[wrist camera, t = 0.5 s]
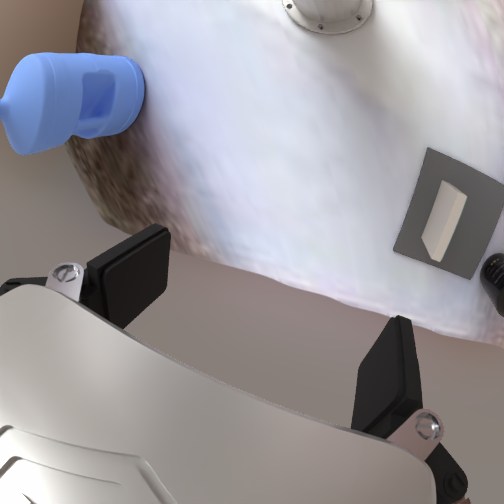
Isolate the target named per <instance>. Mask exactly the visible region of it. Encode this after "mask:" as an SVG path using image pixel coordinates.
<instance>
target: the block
mask: <svg viewBox="0 0 504 504" xmlns="http://www.w3.org/2000/svg"><path fill="white" fill-rule="evenodd" d="M466 200H467V196H466V195H465V194H464V193H462V192H461V191H460V190H458V189H457V188H456V187H454V186H453V185H451V184H450V183H448V182H445V181H443V180H442V182H441V185H440V188H439V191H438V194H437V197H436V200H435V203H434V205H433V208H432V211H431V214H430V216H429V219H428V221H427V224H426V227H425V229H424V232H423V234H422V237H421V238H422V240H423V242H424V244H425V246H426V248H427V251H428V253H429V255H430V257H431V259H433V260H436V261H438V262H440V261H441V260H442V259H443V257H444V254H445V252H446V250H447V248H448V246H449V243H450V241H451V239H452V236H453V234H454V232H455V229H456V227H457V224H458V222H459V219H460V217H461V214H462V211H463V209H464V206H465V203H466Z"/></svg>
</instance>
